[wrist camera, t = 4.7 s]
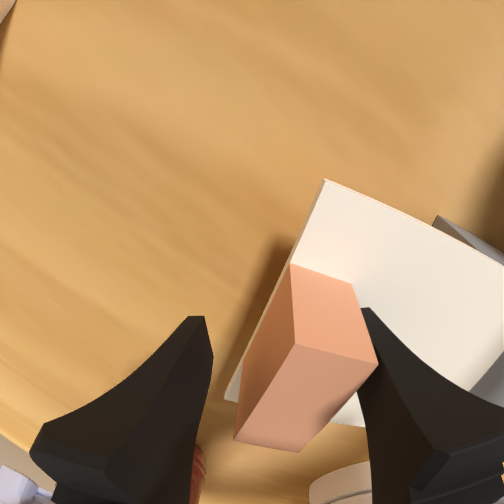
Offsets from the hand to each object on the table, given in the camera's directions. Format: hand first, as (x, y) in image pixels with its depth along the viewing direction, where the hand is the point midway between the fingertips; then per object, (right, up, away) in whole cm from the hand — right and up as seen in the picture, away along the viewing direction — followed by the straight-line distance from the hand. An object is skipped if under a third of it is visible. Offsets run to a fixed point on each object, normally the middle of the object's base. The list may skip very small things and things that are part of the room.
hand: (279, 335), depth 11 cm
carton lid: (+6, -1, +2) cm, 6 cm away
